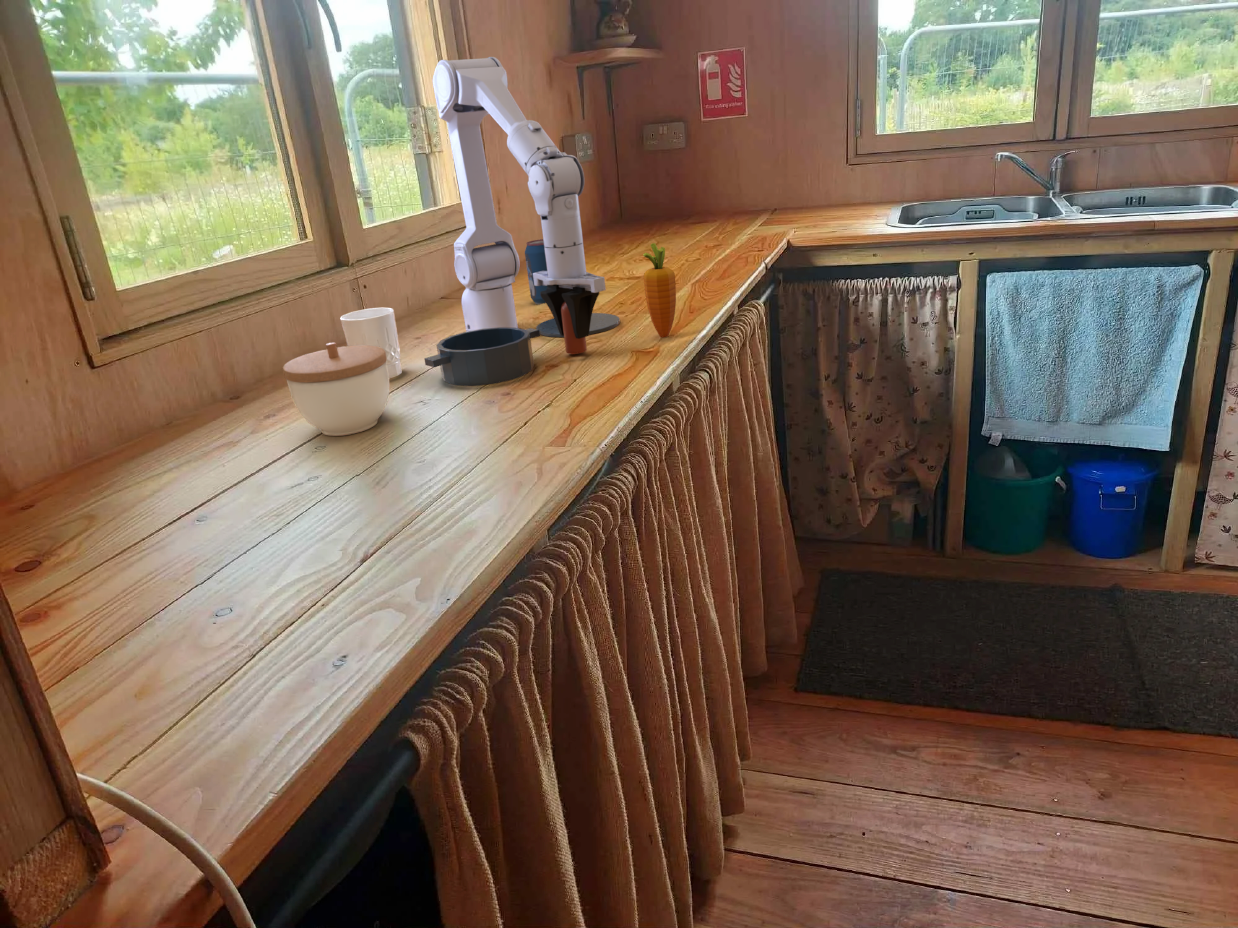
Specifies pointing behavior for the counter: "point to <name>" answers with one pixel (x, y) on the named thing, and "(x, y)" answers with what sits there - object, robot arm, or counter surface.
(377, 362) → the lidded bowl
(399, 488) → the counter surface
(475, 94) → the robot arm
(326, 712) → the counter surface
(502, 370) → the pot
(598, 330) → the lid
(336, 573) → the counter surface
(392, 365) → the white cup
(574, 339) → the sausage
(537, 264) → the soda can
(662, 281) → the carrot
